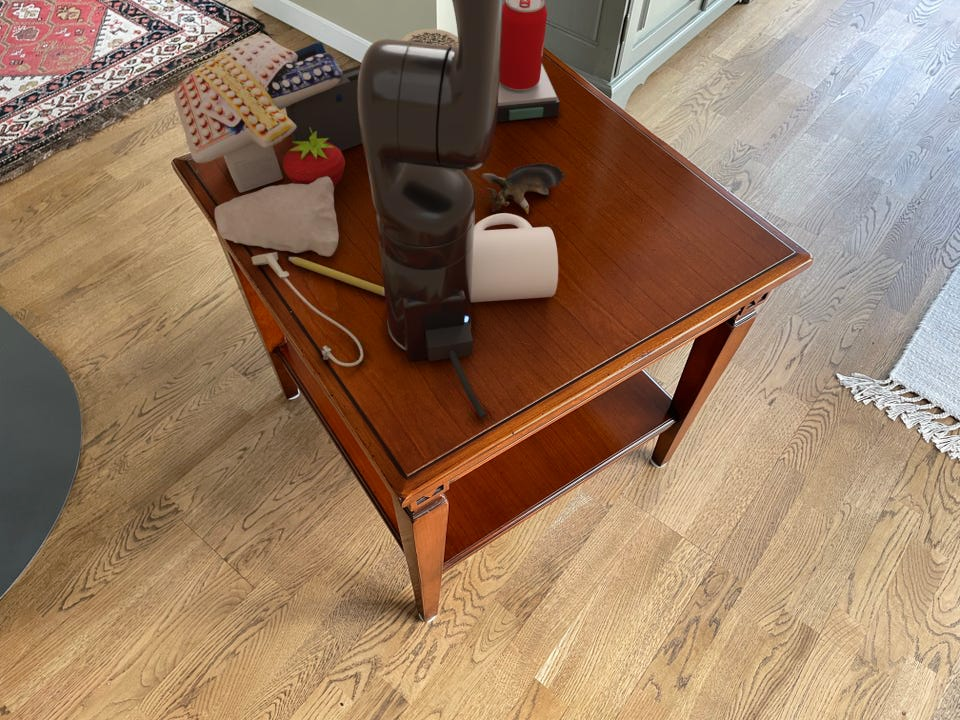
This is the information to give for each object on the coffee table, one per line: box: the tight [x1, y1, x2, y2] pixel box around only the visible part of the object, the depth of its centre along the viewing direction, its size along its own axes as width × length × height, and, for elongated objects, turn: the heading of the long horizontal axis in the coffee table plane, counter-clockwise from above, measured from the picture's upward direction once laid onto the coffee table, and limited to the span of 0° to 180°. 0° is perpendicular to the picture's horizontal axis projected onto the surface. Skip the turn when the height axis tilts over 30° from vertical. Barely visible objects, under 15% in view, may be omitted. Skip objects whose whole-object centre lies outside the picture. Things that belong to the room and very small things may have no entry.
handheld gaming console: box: [285, 64, 363, 152], centre depth 95 cm, size 23×3×10 cm, turn 124°
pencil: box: [284, 256, 385, 297], centre depth 83 cm, size 1×14×1 cm, turn 67°
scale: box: [496, 63, 561, 123], centre depth 104 cm, size 10×10×3 cm
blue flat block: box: [294, 41, 342, 102], centre depth 94 cm, size 7×14×1 cm
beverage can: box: [499, 0, 548, 91], centre depth 98 cm, size 6×6×12 cm
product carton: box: [223, 142, 284, 194], centre depth 90 cm, size 6×6×7 cm
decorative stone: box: [214, 176, 340, 257], centre depth 85 cm, size 10×4×15 cm
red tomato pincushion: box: [282, 128, 346, 188], centre depth 87 cm, size 6×8×10 cm
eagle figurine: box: [481, 162, 566, 214], centre depth 90 cm, size 8×7×9 cm
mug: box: [471, 212, 559, 303], centre depth 81 cm, size 12×10×8 cm
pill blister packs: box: [173, 33, 343, 164], centre depth 85 cm, size 21×6×15 cm
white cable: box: [251, 251, 364, 368], centre depth 80 cm, size 5×3×20 cm
